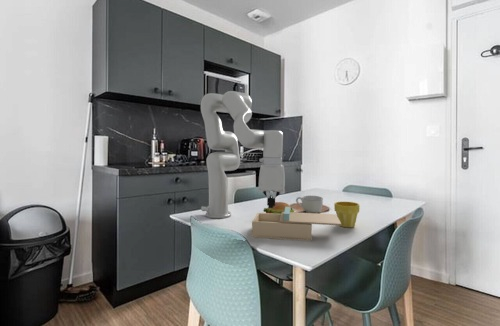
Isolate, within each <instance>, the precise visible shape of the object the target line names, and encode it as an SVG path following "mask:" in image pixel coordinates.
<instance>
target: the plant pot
mask: <svg viewBox="0 0 500 326" xmlns="http://www.w3.org/2000/svg"><path fill="white" fill-rule="evenodd" d="M333 209H334V211H335V213H336V215H337V217H338V219H339V220H340V222H341V225H338V226H339V227H343V228H347V229H349V228H354V227H355V226H356V222H357V218H358V213H360V204H359V203H357V202H353V201H336V202H334V208H333Z"/></svg>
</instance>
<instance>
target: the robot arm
mask: <svg viewBox="0 0 500 326" xmlns="http://www.w3.org/2000/svg"><path fill="white" fill-rule="evenodd" d="M252 103H253V101H252V98H251V96H250V95H249V94H247V93H246V92H239V91H235V90H230V91H229V90H228V91H226V92H225V93H223V94H222V93H221V94H220V93H215V92H214V93H212V92H211V93H210V92H209V93H205V94H204V95H203V96H202V99H201V102H200V113H201V115H202V119H203V122H204V128H205V130H204V131H205V137H206V144H207V147H208V148H209V149H211V150H215V151H216V152H214V151H213V152H212V153H209V154H208V156H207V157H206V161H205V162H206V167H207V174H208V175H207V176H208V205H207V206H201V207H200V210H201V211H202V212H205V217H207V218H208V219H209V218H210V219H226V218H229V217H231V216H232V212H231V211H229V180H228V177H227V175H226V173H225V172H228V171H229V172H231V171H235V170H237V169H239V167H240V164H241V157H240V148H239V143H240V144H241V146H243V147H244V148H247V149H263V150H262V153H263V155H262V156H263V157H261V158H259V159H258V160H259V163H262V164H261V165H260V169H259V176H258V190H257V192H258V193H260V194H264V196H265V197H266V200H267V203H266V205H267V207H268V206H269V208H273V206H275V202H276V198H277V197H278V196H279V195H284V194H285V193H286V189H285V187H286V186H285V185H286V177H285V175H286V174H285V173H286V172H285V165H283V147H284V144H283V143H284V132H282V131H281V130H274V129H270V130H263V129H250V127H249V126H248V125H247V124H248V122H249V121H250V120H251V119H252V115H253V113H252V110H251V108H252V105H253V104H252ZM217 112H218V113H226V114H229V115H230V116H231V118H232V119H233V120H234V122H233V132H232V131H229V130H228V131H227V130H224V128H223V123H222V120H221V118H220V116H219V115H218V114H217ZM238 142H239V143H238ZM271 192H273V193H272V195H271Z"/></svg>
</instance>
